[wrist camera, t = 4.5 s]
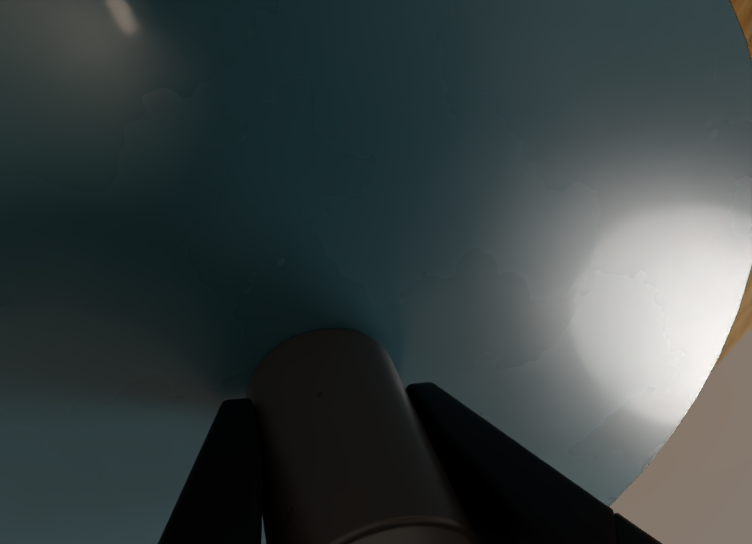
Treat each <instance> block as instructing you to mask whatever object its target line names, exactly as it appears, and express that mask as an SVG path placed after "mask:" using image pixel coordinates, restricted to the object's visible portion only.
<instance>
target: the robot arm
mask: <svg viewBox="0 0 752 544" xmlns="http://www.w3.org/2000/svg"><path fill="white" fill-rule="evenodd" d="M406 391H407V393H408V395H409V397H410V399H411V401H412V403H413V405H414V407H415V410H416V412H417V414H418V416H419V418H420V420H421V422H422V424H423V426H424V428H425V430H426V432H427V434H428V436H429V438H430V440H431V443H432V445H433V447H434V449H435V451H436V453H437V455H438V457H439V459H440V461H441V463H442V465H443V467H444V469H445V471H446V473H447V476H448V478H449V480H450V482H451V484H452V486H453V488H454V490H455V492H456V494H457V496H458V498H459V500H460V502H461V504H462V506H463V508H464V511H465V513H466V515H467V517H468V519H469V521H470V523H471V525H472V527H473V529H474V531H475V533H476V535H477V537H478V539H479V542H480V544H662V543H660V542H659V541H657V540H656V539H654V538H653V537H652V536H650V535H649V534H647V533H646V532H644V531H643V530H641V529H640V528H638V527H637V526H636V525H634V524H633V523H631V522H630V521H628V520H627V519H626V518H624V517H623V516H621V515H620V514H618V513H615V514H614V512H613V510H612V509H611V508H610V507H608V506H607V505H606V504H604V503H603V502H601V501H600V500H599V499H597V498H596V497H594V496H593V495H591V494H590V493H589V492H587V491H586V490H584V489H583V488H582V487H580V486H579V485H577V484H576V483H574V482H573V481H572V480H570V479H569V478H567V477H566V476H565V475H563V474H562V473H560V472H559V471H558V470H556V469H555V468H553V467H552V466H550V465H549V464H548V463H546V462H545V461H543V460H542V459H541V458H539V457H538V456H536V455H535V454H533V453H532V452H531V451H529V450H528V449H526V448H525V447H524V446H522V445H521V444H519V443H518V442H516V441H515V440H514V439H512V438H511V437H509V436H508V435H507V434H505V433H504V432H502V431H501V430H500V429H498V428H497V427H495V426H494V425H492V424H491V423H490V422H488V421H487V420H485V419H484V418H483V417H481V416H480V415H478V414H477V413H475V412H474V411H473V410H471V409H470V408H468V407H467V406H466V405H464V404H463V403H461V402H460V401H459V400H457V399H456V398H454V397H453V396H451V395H450V394H449V393H447V392H446V391H444V390H443V389H442V388H440V387H439V386H437V385H436V384H434V383H432V382H424V383H413V384H410V385H408V386H407V388H406ZM262 501H263V455H262V448H261V443H260V438H259V433H258V428H257V423H256V418H255V413H254V408H253V403H252V401H251V399H249V398H240V399H229V400H225V401H223V402H222V404H221V405H220V408H219V410H218V412H217V414H216V416H215V419H214V421H213V423H212V425H211V427H210V430H209V432H208V434H207V436H206V438H205V441H204V443H203V445H202V447H201V449H200V452H199V454H198V456H197V458H196V460H195V463H194V465H193V467H192V469H191V471H190V474H189V476H188V478H187V480H186V482H185V485H184V487H183V489H182V491H181V493H180V496H179V498H178V500H177V502H176V504H175V507H174V509H173V511H172V513H171V515H170V518H169V520H168V522H167V524H166V526H165V529H164V531H163V533H162V535H161V537H160V540H159V542H158V544H261V537H262Z"/></svg>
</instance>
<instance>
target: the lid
mask: <svg viewBox="0 0 752 544" xmlns="http://www.w3.org/2000/svg"><path fill="white" fill-rule="evenodd" d="M751 269H752V62H751V58H750V54H749V50H748V45H747V41H746V38H745V35H744V33H743V30H742V28H741V26H740V23H739V21H738V18H737V16H736V13H735V11H734V9H733V6H732V4H731V1H730V0H0V544H158V542H159V540H160V537H161V535H162V533H163V531H164V529H165V526H166V524H167V522H168V520H169V518H170V515H171V513H172V511H173V509H174V507H175V504H176V502H177V500H178V498H179V496H180V493H181V491H182V489H183V487H184V485H185V482H186V480H187V478H188V476H189V474H190V471H191V469H192V467H193V465H194V463H195V460H196V458H197V456H198V454H199V452H200V449H201V447H202V445H203V443H204V441H205V438H206V436H207V434H208V432H209V430H210V427H211V425H212V423H213V421H214V419H215V416H216V414H217V412H218V410H219V408H220V405H221V404H222V402H223V401H225V400H229V399H240V398H249V399H251V401H252V403H253V408H254V413H255V418H256V423H257V428H258V433H259V438H260V443H261V448H262V455H263V501H262V537H261V544H480V542H479V539H478V537H477V535H476V533H475V531H474V529H473V527H472V525H471V523H470V521H469V519H468V517H467V515H466V513H465V511H464V508H463V506H462V504H461V502H460V500H459V498H458V496H457V494H456V492H455V490H454V488H453V486H452V484H451V482H450V480H449V478H448V476H447V473H446V471H445V469H444V467H443V465H442V463H441V461H440V459H439V457H438V455H437V453H436V451H435V449H434V447H433V445H432V443H431V440H430V438H429V436H428V434H427V432H426V430H425V428H424V426H423V424H422V422H421V420H420V418H419V416H418V414H417V412H416V410H415V407H414V405H413V403H412V401H411V399H410V397H409V395H408V393H407V391H406V388H407V386H408V385H410V384H413V383H424V382H432V383H434V384H436V385H437V386H439V387H440V388H442V389H443V390H444V391H446V392H447V393H449V394H450V395H451V396H453V397H454V398H456V399H457V400H459V401H460V402H461V403H463V404H464V405H466V406H467V407H468V408H470V409H471V410H473V411H474V412H475V413H477V414H478V415H480V416H481V417H483V418H484V419H485V420H487V421H488V422H490V423H491V424H492V425H494V426H495V427H497V428H498V429H500V430H501V431H502V432H504V433H505V434H507V435H508V436H509V437H511V438H512V439H514V440H515V441H516V442H518V443H519V444H521V445H522V446H524V447H525V448H526V449H528V450H529V451H531V452H532V453H533V454H535V455H536V456H538V457H539V458H541V459H542V460H543V461H545V462H546V463H548V464H549V465H550V466H552V467H553V468H555V469H556V470H558V471H559V472H560V473H562V474H563V475H565V476H566V477H567V478H569V479H570V480H572V481H573V482H574V483H576V484H577V485H579V486H580V487H582V488H583V489H584V490H586V491H587V492H589V493H590V494H591V495H593V496H594V497H596V498H597V499H599V500H600V501H601V502H603V503H604V504H606V505H607V506H608V507H609V506H610V505H612V504H613V503H614V501H616V500H617V499H618V497H619V496H620V495H621V494H622V493H623V492H624V491H625V490H626V489H627V488H628V487H629V486H630V484H632V483H633V481H634V480H635V479H636V478H637V477H638V476H639V475H640V474H641V473H642V472H643V471H644V470H645V468H646V467H647V466H648V465H649V463H650V462H651V461H652V460H653V458H654V457H655V456H656V455H657V453H658V452H659V450H661V448H662V447H663V446H664V445H665V443H666V442H667V441H668V439H669V438H670V437H671V436H672V434H673V433H674V431H675V430H676V429H677V427H678V426H679V424H680V422H681V421H682V419H683V418H684V416H685V415H686V413H687V412H688V410H689V409H690V407H691V406H692V404H693V403H694V401H695V400H696V398H697V397H698V395H699V393H700V391H701V390H702V388H703V386H704V384H705V382H706V381H707V379H708V377H709V375H710V373H711V371H712V369H713V367H714V366H715V364H716V362H717V360H718V358H719V356H720V354H721V352H722V350H723V348H724V345H725V343H726V340H727V338H728V336H729V333H730V331H731V328H732V326H733V323H734V321H735V319H736V316H737V314H738V311H739V309H740V306H741V303H742V299H743V296H744V292H745V289H746V286H747V282H748V279H749V275H750V272H751Z"/></svg>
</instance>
